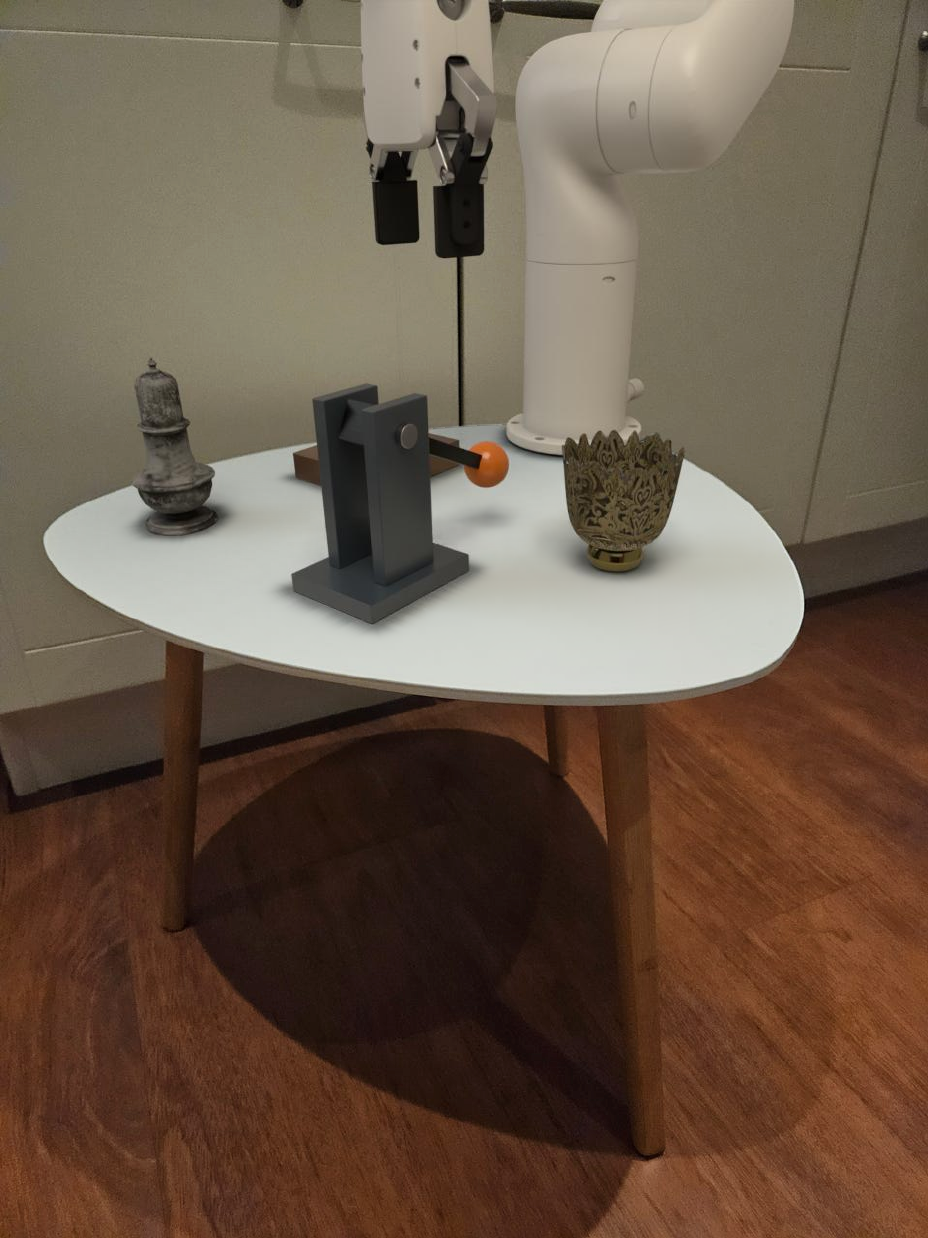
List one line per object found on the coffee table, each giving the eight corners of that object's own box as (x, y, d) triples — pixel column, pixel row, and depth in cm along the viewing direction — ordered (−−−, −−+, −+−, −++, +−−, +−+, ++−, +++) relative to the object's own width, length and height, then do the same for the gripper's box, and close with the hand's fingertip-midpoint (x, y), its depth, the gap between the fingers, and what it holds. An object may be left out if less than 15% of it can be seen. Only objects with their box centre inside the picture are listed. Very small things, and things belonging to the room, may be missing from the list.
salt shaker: (200, 539, 61) (168, 368, 55) (125, 534, 62) (87, 366, 56) (235, 508, 66) (210, 349, 60) (165, 504, 67) (134, 347, 61)
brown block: (385, 445, 79) (383, 402, 77) (460, 464, 74) (459, 419, 72) (295, 477, 72) (289, 431, 70) (371, 501, 67) (367, 451, 65)
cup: (689, 583, 54) (704, 460, 50) (575, 593, 53) (582, 469, 49) (647, 536, 60) (658, 424, 56) (546, 545, 59) (549, 431, 55)
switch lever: (475, 485, 62) (487, 442, 62) (510, 495, 60) (523, 450, 60) (329, 444, 50) (342, 390, 49) (368, 454, 48) (382, 398, 48)
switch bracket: (391, 544, 60) (380, 373, 54) (469, 570, 56) (466, 389, 50) (292, 590, 54) (268, 403, 48) (372, 624, 50) (356, 425, 44)
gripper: (551, -104, 44) (542, 257, 52) (412, -44, 57) (423, 236, 65) (418, -119, 41) (431, 267, 49) (304, -51, 54) (330, 242, 62)
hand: (426, 249), depth 57 cm, fingers open, 9 cm apart
